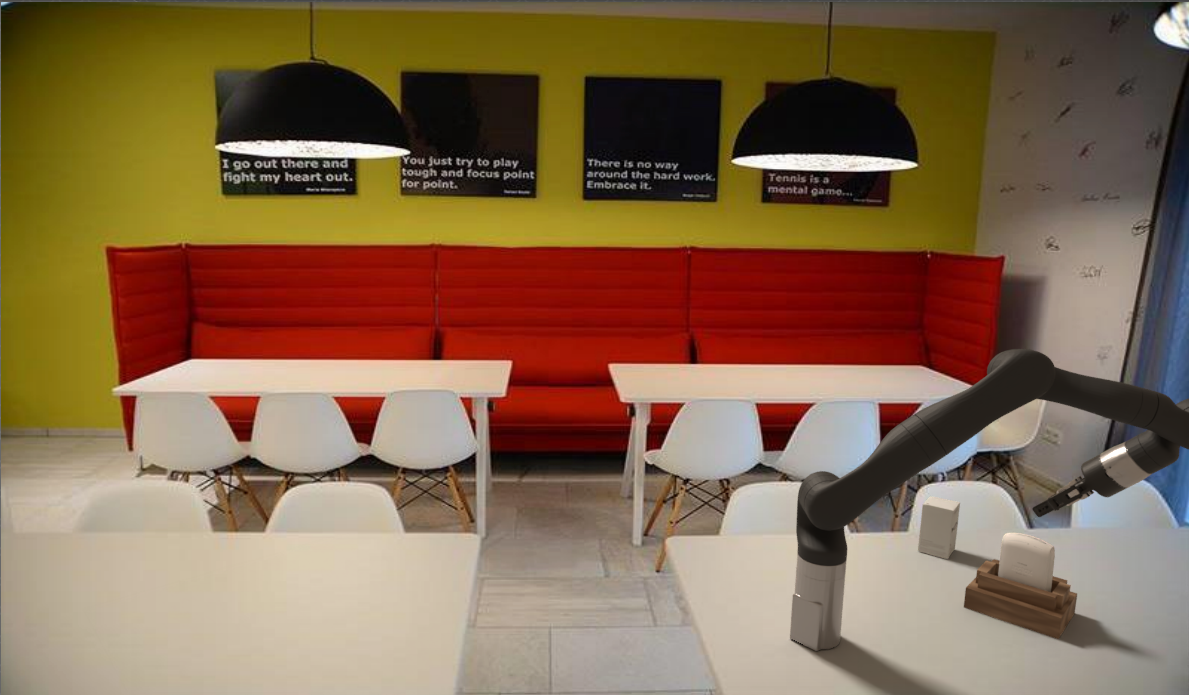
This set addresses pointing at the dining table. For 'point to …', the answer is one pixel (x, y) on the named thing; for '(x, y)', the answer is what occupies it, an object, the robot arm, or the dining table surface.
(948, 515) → the supplement box
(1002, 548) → the photo printer
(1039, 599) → the wooden holder
